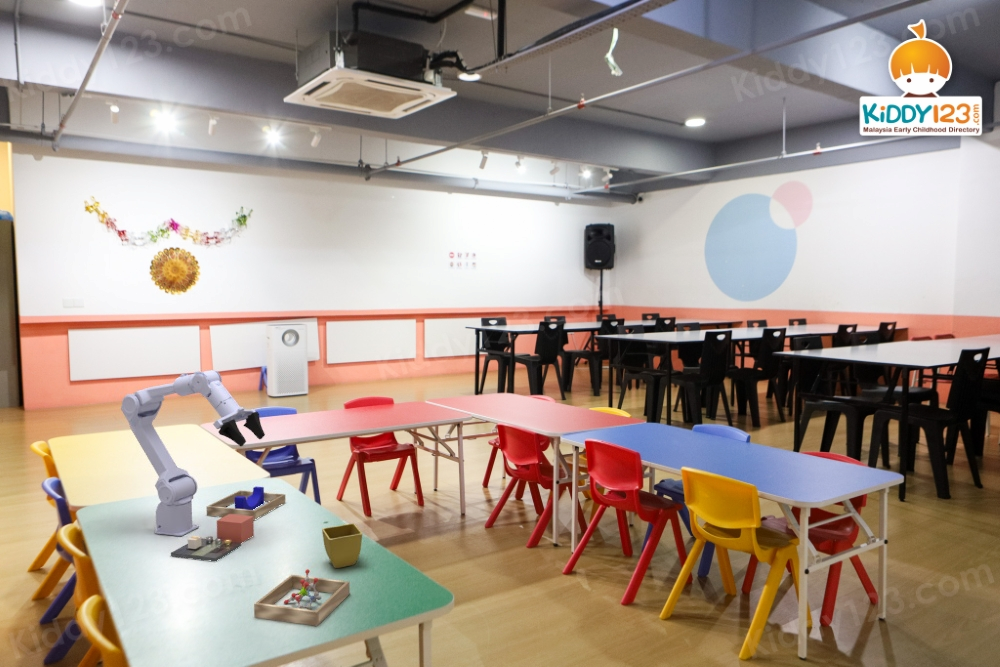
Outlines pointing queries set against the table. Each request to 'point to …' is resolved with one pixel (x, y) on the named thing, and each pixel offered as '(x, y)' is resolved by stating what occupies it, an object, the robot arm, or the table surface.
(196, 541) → the block
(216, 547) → the panel
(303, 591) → the molecular model
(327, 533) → the flower pot
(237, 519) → the cap
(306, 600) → the table surface
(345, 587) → the wooden frame right
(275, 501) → the wooden frame left
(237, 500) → the blue curved cradle block
